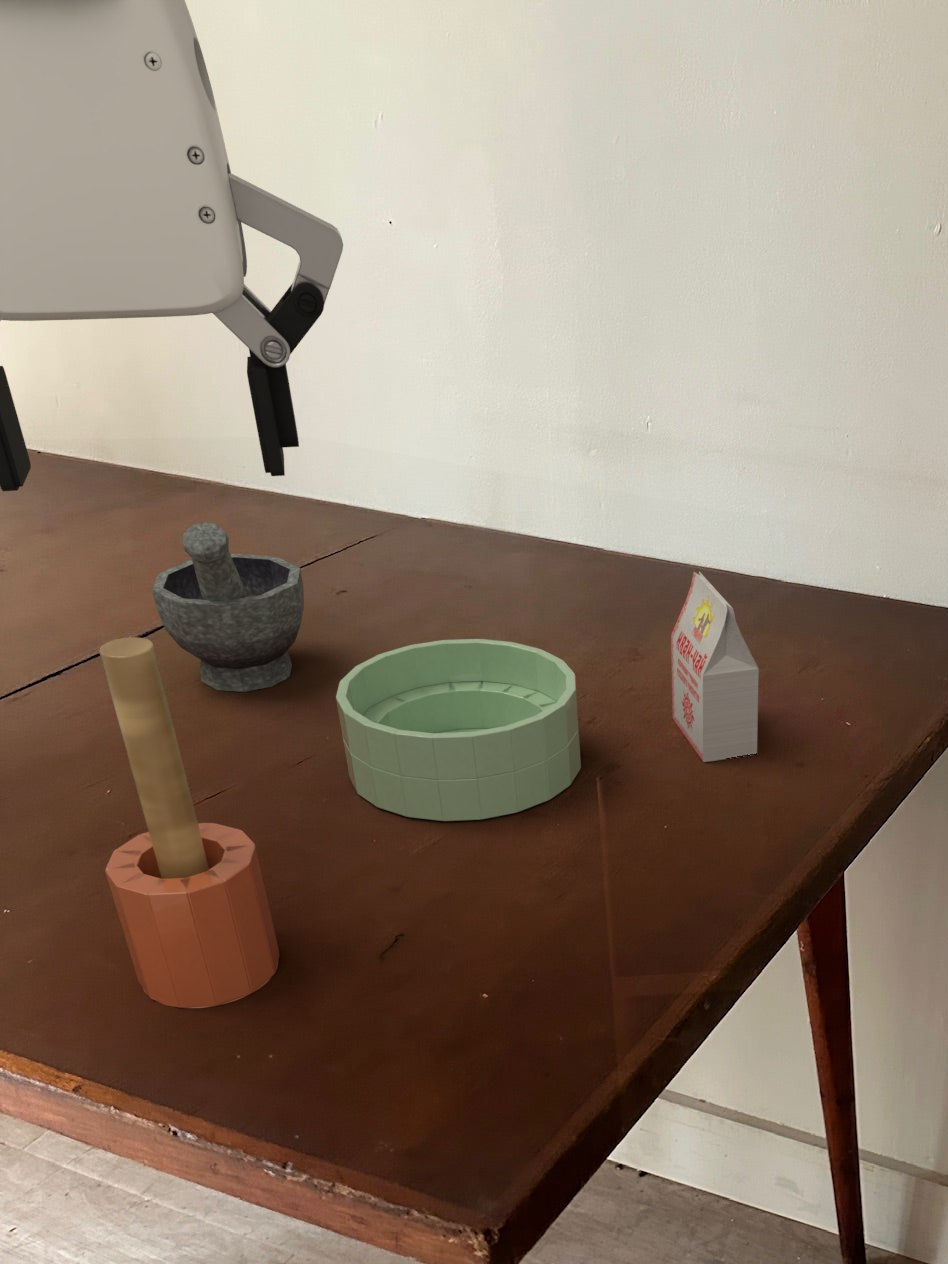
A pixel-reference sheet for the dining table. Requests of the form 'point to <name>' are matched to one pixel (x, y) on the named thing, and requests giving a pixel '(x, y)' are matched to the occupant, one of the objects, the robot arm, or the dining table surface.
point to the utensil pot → (196, 921)
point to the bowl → (460, 728)
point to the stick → (154, 755)
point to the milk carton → (713, 677)
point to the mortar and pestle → (231, 611)
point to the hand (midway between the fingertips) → (149, 473)
